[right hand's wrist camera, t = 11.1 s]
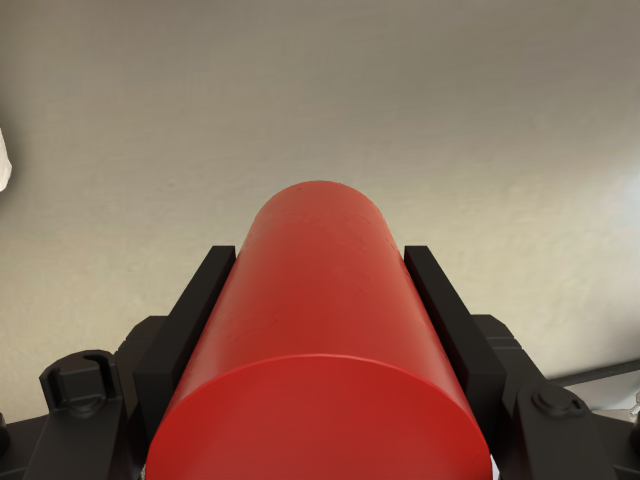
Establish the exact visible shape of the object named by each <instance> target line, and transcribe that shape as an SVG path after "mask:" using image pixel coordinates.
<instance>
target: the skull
mask: <svg viewBox="0 0 640 480" xmlns="http://www.w3.org/2000/svg"><path fill="white" fill-rule="evenodd" d="M11 169H12V166H11V164H10V162H9V160H8V157H7V152H6V146H5V143H4V140H3V136H2V133H1V129H0V192H1V191H2V190H3V189H4V188H6V185H7V182H8V179H9V178H10V175H11Z"/></svg>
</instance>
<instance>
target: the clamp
mask: <svg viewBox="0 0 640 480" xmlns="http://www.w3.org/2000/svg"><path fill="white" fill-rule="evenodd" d="M636 402H637V403H638V404H637V405H636V406H634V407H633V408H632V409H630V410H626V409H622V410H597V411H592V413H595V414H598V415H602V416H607V417H611V418H615V419H620V420H624V421H629V422H633V423H634V422H635V420H636V417H637V414H635V415H633V414H632V413H631V412H632V411H634V410H635V409H636V408H637V407H639V406H640V392H639V393H638V394H636Z"/></svg>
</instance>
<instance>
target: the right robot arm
mask: <svg viewBox="0 0 640 480" xmlns="http://www.w3.org/2000/svg"><path fill="white" fill-rule="evenodd" d="M235 260H236V254H235V246H212V248H211V249H210V251H209V253H208V254H207V256H206V257H205V259H204V260H203V262H202V264H201V265H200V267H199V268H198V270H197V271H196V273H195V275H194V276H193V278H192V279H191V281H190V282H189V284H188V286H187V287H186V289H185V290H184V292H183V293H182V295H181V297H180V298H179V300H178V301H177V303H176V304H175V306H174V308H173V309H172V311H171V312H170V314H169V315H168V316H149V317H147V318H146V319H145V320H143V321H142V322H140V323H139V324H137V325H136V326H135V327H134V328H133V329H132V331H131V332H130V333H129V335H128V336H127V337H126V341H123V343H122V344H121V345H120V347H119V348H118V351H116V352H115V353H114V355H112V354H111V353H110V352H108V351H103V350H85V351H81V352H77V353H73V354H70V355H68V356H66V357H64V358H61V359H59V360H57V361H56V362H54V363H53V364H52V365H50V366H49V367H47V368H46V369H45V370H44V372H43V373H42V374H41V375H40V377H39V380H40V383H41V386H42V389H43V393H44V396H45V399H46V402H47V405H48V409H49V414H47V415H44V416H41V417H37V418H32V419H28V420H23V421H19V422H15V423H10V424H6V423H5V421H4V418H3V415H2V413H0V480H142V477H141V471H142V469H143V467H144V465H145V462H146V459H147V455H148V451H149V447H150V444H151V442H152V440H153V438H154V435H155V433H156V431H157V429H158V427H159V425H160V422H161V420H162V418H163V416H164V414H165V412H166V409H167V407H168V405H169V403H170V401H171V399H172V396H173V394H174V392H175V390H176V388H177V386H178V384H179V381H180V379H181V377H182V375H183V373H184V371H185V368H186V366H187V364H188V362H189V360H190V358H191V355H192V353H193V351H194V349H195V347H196V345H197V343H198V340H199V338H200V336H201V334H202V332H203V330H204V327H205V325H206V323H207V321H208V319H209V317H210V314H211V312H212V310H213V308H214V306H215V304H216V302H217V299H218V297H219V295H220V293H221V291H222V289H223V286H224V284H225V282H226V280H227V278H228V276H229V273H230V271H231V269H232V267H233V265H234V263H235ZM404 263H405V265H406V268H407V270H408V272H409V274H410V276H411V279H412V281H413V283H414V285H415V287H416V290H417V292H418V294H419V296H420V298H421V300H422V303H423V305H424V307H425V309H426V311H427V314H428V316H429V318H430V320H431V322H432V325H433V327H434V329H435V331H436V333H437V336H438V338H439V340H440V342H441V344H442V346H443V349H444V351H445V353H446V355H447V357H448V360H449V362H450V364H451V366H452V368H453V371H454V373H455V375H456V377H457V379H458V382H459V384H460V386H461V388H462V390H463V393H464V395H465V397H466V399H467V401H468V403H469V406H470V408H471V410H472V412H473V414H474V417H475V419H476V421H477V423H478V425H479V428H480V430H481V432H482V434H483V437H484V439H485V441H486V443H487V446H488V448H489V453H490V456H491V454H492V457H493V459H494V461H495V463H496V465H497V468H498V470H499V477H498V480H640V411H639V412H638V414H637V417H636V420H635V422H634V423H633V422H629V421H624V420H620V419H615V418H611V417H607V416H602V415H598V414H595V413H592V412H591V411H590V410H589V408H588V407H587V405H586V404H585V402H584V401H583V400H581V399H580V398H579V397H578V396H577V395H575V394H574V393H573V392H571V391H569V390H567V389H565V388H563V387H566V386H571V385H575V384H579V383H584V382H588V381H592V380H597V379H601V378H605V377H610V376H614V375H619V374H623V373H627V372H632V371H636V370H640V360H638V361H634V362H630V363H626V364H621V365H617V366H612V367H608V368H604V369H599V370H595V371H591V372H586V373H582V374H578V375H574V376H569V377H565V378H560V379H555V380H550V381H547V380H546V379H545V377H544V376H543V375H542V373H541V372H540V371H539V369H538V368H537V367H536V365H535V364H534V363H533V361H532V360H531V359H530V357H529V356H528V355H527V353H526V352H525V351H524V349H522V347H521V345H520V344H519V343H518V341H517V340H516V339H514V336H513V335H512V333H511V332H510V331H509V329H508V328H507V327H506V325H505V324H503V323H502V322H500V321H499V320H497V319H496V318H494V317H493V316H491V315H471V314H470V313H469V311H468V310H467V308H466V306H465V305H464V303H463V302H462V300H461V299H460V297H459V295H458V294H457V292H456V291H455V289H454V288H453V286H452V284H451V283H450V281H449V280H448V278H447V277H446V275H445V273H444V272H443V270H442V269H441V267H440V266H439V264H438V262H437V261H436V259H435V258H434V256H433V255H432V253H431V251H430V250H429V248H428V247H427V246H405V250H404Z"/></svg>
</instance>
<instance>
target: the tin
mask: <svg viewBox="0 0 640 480" xmlns="http://www.w3.org/2000/svg"><path fill="white" fill-rule="evenodd" d="M145 480H493V471H492V461H491V457H490V453H489V448H488V446H487V443H486V441H485V439H484V437H483V434H482V432H481V430H480V428H479V425H478V423H477V421H476V419H475V417H474V414H473V412H472V410H471V408H470V406H469V403H468V401H467V399H466V397H465V395H464V393H463V390H462V388H461V386H460V384H459V382H458V379H457V377H456V375H455V373H454V371H453V368H452V366H451V364H450V362H449V360H448V357H447V355H446V353H445V351H444V349H443V346H442V344H441V342H440V340H439V338H438V336H437V333H436V331H435V329H434V327H433V325H432V322H431V320H430V318H429V316H428V314H427V311H426V309H425V307H424V305H423V303H422V300H421V298H420V296H419V294H418V292H417V290H416V287H415V285H414V283H413V281H412V279H411V276H410V274H409V272H408V270H407V268H406V265H405V263H404V261H403V259H402V257H401V254H400V252H399V250H398V248H397V246H396V244H395V241H394V239H393V237H392V235H391V233H390V230H389V228H388V226H387V224H386V222H385V219H384V217H383V216H382V214H381V213H380V211H379V209H378V208H377V207H376V206H375V205H374V204H373V202H371V201H370V200H369V199H368V198H367V197H366V196H364V195H363V194H362V193H360V192H359V191H357V190H355V189H353V188H351V187H349V186H346V185H343V184H340V183H335V182H331V181H309V182H303V183H299V184H296V185H293V186H290V187H288V188H286V189H284V190H282V191H280V192H279V193H277V194H276V195H274V196H273V197H272V198H271V199H270V200H269V201H267V202H266V204H265V205H264V206H263V207H262V208H261V210H260V211H259V213H258V214H257V216H256V217H255V220H254V222H253V224H252V226H251V228H250V230H249V232H248V235H247V237H246V239H245V241H244V243H243V245H242V248H241V250H240V252H239V254H238V256H237V258H236V260H235V263H234V265H233V267H232V269H231V271H230V273H229V276H228V278H227V280H226V282H225V284H224V286H223V289H222V291H221V293H220V295H219V297H218V299H217V302H216V304H215V306H214V308H213V310H212V312H211V314H210V317H209V319H208V321H207V323H206V325H205V327H204V330H203V332H202V334H201V336H200V338H199V340H198V343H197V345H196V347H195V349H194V351H193V353H192V355H191V358H190V360H189V362H188V364H187V366H186V368H185V371H184V373H183V375H182V377H181V379H180V381H179V384H178V386H177V388H176V390H175V392H174V394H173V396H172V399H171V401H170V403H169V405H168V407H167V409H166V412H165V414H164V416H163V418H162V420H161V422H160V425H159V427H158V429H157V431H156V433H155V435H154V438H153V440H152V442H151V444H150V447H149V451H148V455H147V459H146V466H145Z"/></svg>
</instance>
